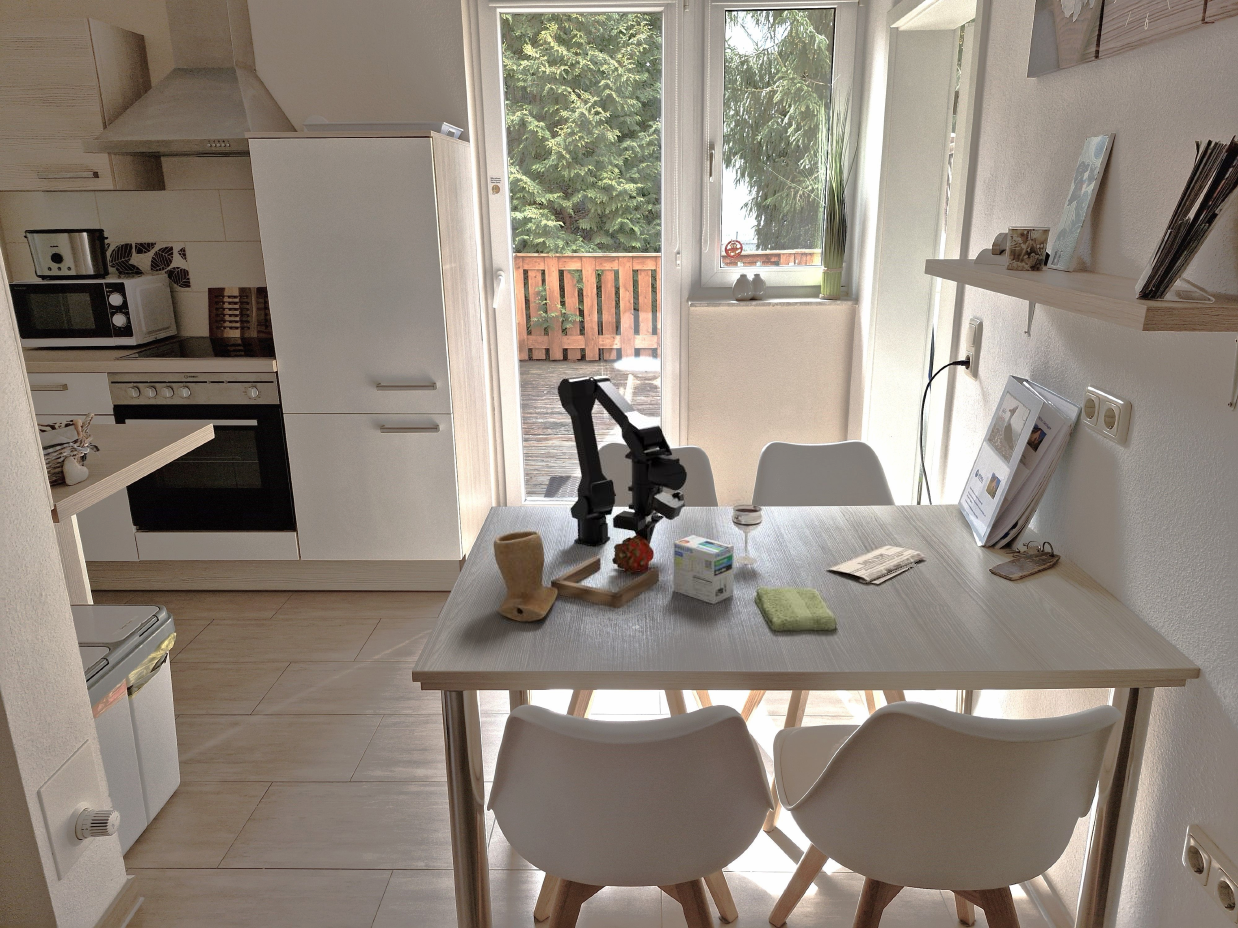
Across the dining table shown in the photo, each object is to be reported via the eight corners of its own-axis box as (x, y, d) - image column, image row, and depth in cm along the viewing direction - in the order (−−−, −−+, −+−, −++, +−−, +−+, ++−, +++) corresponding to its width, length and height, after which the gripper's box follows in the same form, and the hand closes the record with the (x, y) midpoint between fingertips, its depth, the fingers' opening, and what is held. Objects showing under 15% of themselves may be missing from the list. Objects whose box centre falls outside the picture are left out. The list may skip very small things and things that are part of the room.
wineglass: (760, 555, 199) (761, 504, 196) (762, 565, 193) (763, 513, 190) (730, 554, 200) (731, 503, 197) (731, 565, 193) (732, 513, 190)
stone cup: (506, 591, 180) (503, 522, 176) (563, 595, 178) (561, 524, 174) (483, 622, 166) (479, 547, 162) (544, 626, 164) (541, 550, 160)
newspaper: (875, 589, 180) (874, 578, 180) (826, 579, 190) (825, 568, 189) (934, 562, 195) (934, 552, 194) (886, 554, 204) (886, 543, 204)
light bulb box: (734, 595, 177) (735, 544, 174) (714, 605, 172) (714, 553, 170) (692, 582, 184) (693, 533, 181) (672, 591, 179) (672, 541, 177)
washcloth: (815, 596, 177) (816, 581, 176) (839, 633, 160) (840, 617, 159) (751, 597, 177) (751, 582, 176) (768, 635, 160) (769, 619, 159)
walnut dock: (551, 592, 179) (550, 581, 179) (594, 567, 193) (594, 556, 192) (618, 608, 171) (618, 596, 171) (658, 580, 185) (658, 569, 184)
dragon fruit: (623, 588, 185) (634, 576, 196) (656, 567, 183) (665, 555, 195) (601, 555, 185) (613, 544, 197) (633, 533, 183) (644, 524, 195)
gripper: (657, 496, 179) (658, 568, 183) (696, 475, 195) (696, 541, 199) (610, 490, 185) (612, 559, 189) (652, 469, 200) (653, 534, 204)
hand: (645, 548), depth 195 cm, fingers closed
